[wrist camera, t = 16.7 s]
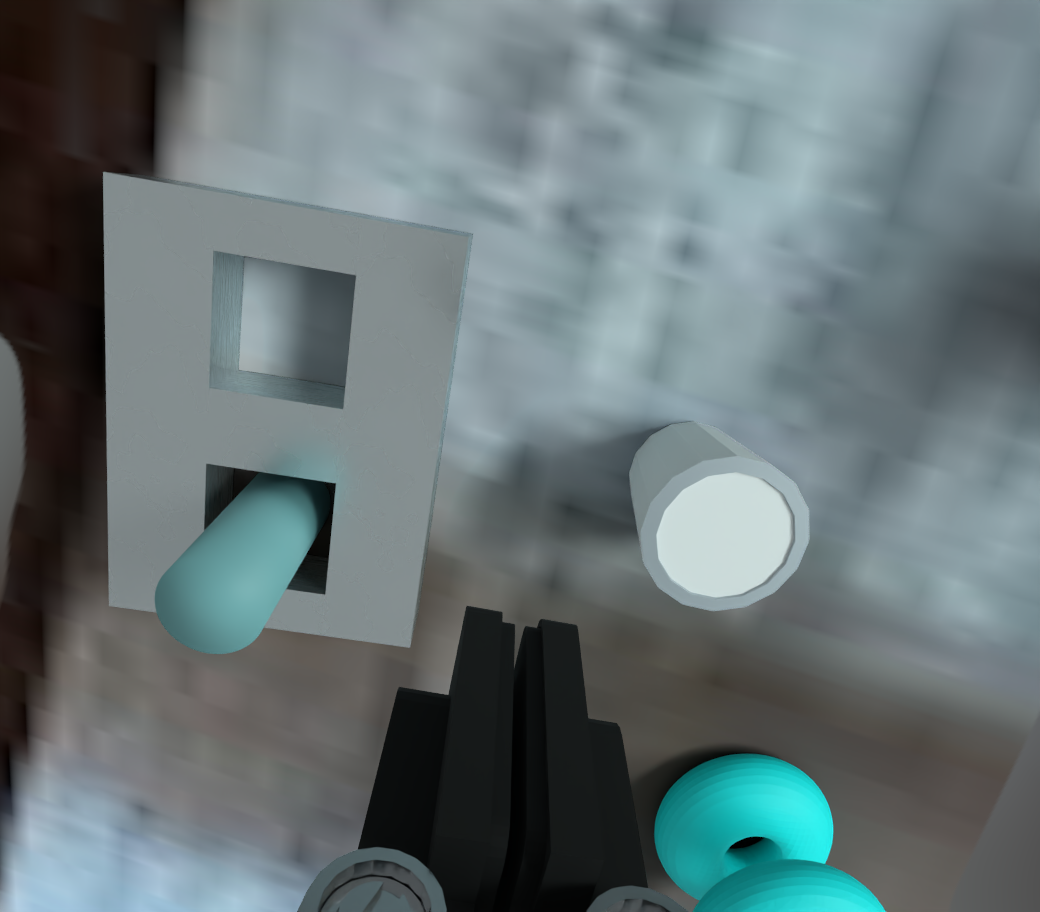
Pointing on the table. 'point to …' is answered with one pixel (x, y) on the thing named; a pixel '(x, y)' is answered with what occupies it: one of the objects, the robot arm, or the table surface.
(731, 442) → the grey cup
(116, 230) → the block
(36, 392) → the table surface
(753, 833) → the donuts
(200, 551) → the peg
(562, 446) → the table surface
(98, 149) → the table surface
